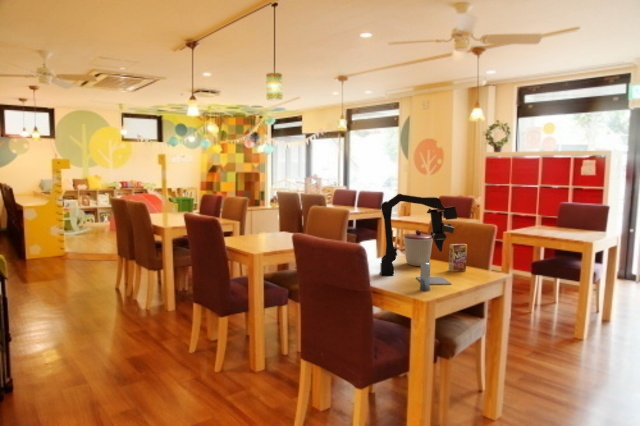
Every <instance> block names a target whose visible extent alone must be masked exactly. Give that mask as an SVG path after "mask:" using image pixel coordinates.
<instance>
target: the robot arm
mask: <svg viewBox="0 0 640 426" xmlns="http://www.w3.org/2000/svg"><path fill="white" fill-rule="evenodd" d="M400 202H403V203H408V204H409V203H410V204H418V205H423V206H426V207H429V208H428V210H427V211H426V213H427V214H430V221H431V222H430V224H431V230H430V236H432V238H433V242H434V244H435V246H436V248H437V249H438V251H439V252H440V253H441V252H443V247H444V246H443V245H444V242H445V240H446V241H447V234H446V233H450V234H453V235H454V231H455V227H454V226H452V224H451V223H447V224H444V223H445V222H443V219H445V221H449V220H450V221H451V220H456V219H458V213H457V209H456V206H455V205H452V206H447V207H446V206H444V205H443V204H442V201H441V199H440V198H439V197H436V196H425V197H422V196H416V195H408V194H402V193H398V194H396V195H394V196H393V197H392V198H391V199H389V200H388V201H386V200H385V201H383V202H381V205H380V206H381V207H380V208H381V214H382V216H383V220H384V221H383V222H384V234H385V244H386V245H385V252H384V255H383V256H382V257H381V262H380V265H379V267H380V269H379V270H380V272H379V274H380V276H382V277H383V276H384V277H387V276H388V277H389V276H390V277H391V276H392V277H393V276H394V274H395V266H394V263H393V262H394V261H396V259H397V256H398V252H397V249H398V247H397V246H394V239H393V229H392V228H393V227H392V215H393V214H392V213H393V208H394V207H395V206H396V205H398V204H399V203H400ZM438 209H439V210H438Z"/></svg>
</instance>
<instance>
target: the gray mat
mask: <svg viewBox="0 0 640 426" xmlns="http://www.w3.org/2000/svg"><path fill="white" fill-rule="evenodd" d="M415 279H416V280H417V281H418V282H420V276H416V277H415ZM434 285H435V286H436V285H437V286H440V285H441V286H444V285H445V286H446V285H447V286H449V285H450V286H451V285H452V282H450V281H449V280H447V279H446V277H443V276H430V286H434Z"/></svg>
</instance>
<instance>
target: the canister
mask: <svg viewBox="0 0 640 426" xmlns="http://www.w3.org/2000/svg"><path fill="white" fill-rule="evenodd" d="M402 238H403V241H404V242H403V243H404V254H405V256H404V257H405V261H406V263H407V264H408V265H409V266H414V267H421V262H429V263H430V261H431V255H432V247H433V242H434V240H433V238H432V236H431V234H424V233H422V230H421V229H417V230H415V233H409V234H405V235H403V236H402Z"/></svg>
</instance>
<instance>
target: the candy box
mask: <svg viewBox="0 0 640 426" xmlns="http://www.w3.org/2000/svg"><path fill="white" fill-rule="evenodd" d="M448 251H449V254H448V255H449V256H448V271H450V272H466V271H467V252H468V244H466V243H450V244H449V250H448Z"/></svg>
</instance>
